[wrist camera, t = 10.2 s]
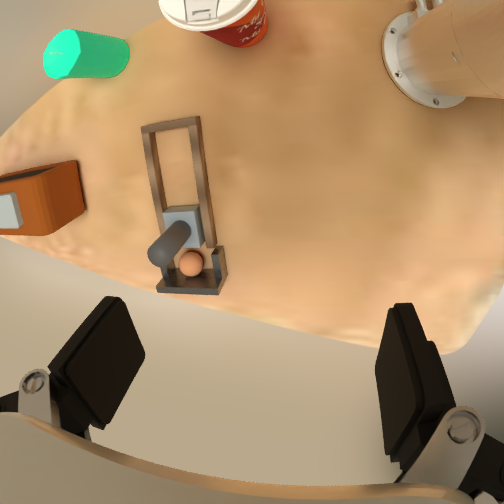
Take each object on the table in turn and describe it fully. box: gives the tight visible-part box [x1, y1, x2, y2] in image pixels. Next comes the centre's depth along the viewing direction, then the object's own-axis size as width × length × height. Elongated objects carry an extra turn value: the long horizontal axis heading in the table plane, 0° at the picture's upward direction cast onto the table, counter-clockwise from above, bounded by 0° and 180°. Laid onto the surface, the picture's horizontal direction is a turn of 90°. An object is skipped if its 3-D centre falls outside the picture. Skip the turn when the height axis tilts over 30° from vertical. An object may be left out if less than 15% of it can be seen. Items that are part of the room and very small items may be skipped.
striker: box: [147, 205, 205, 267], centre depth 36 cm, size 5×4×9 cm
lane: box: [141, 116, 217, 248], centre depth 37 cm, size 17×7×2 cm, turn 5°
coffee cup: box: [158, 0, 268, 47], centre depth 21 cm, size 8×8×15 cm
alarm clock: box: [0, 161, 85, 236], centre depth 37 cm, size 24×8×11 cm, turn 91°
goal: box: [156, 246, 228, 295], centre depth 41 cm, size 5×9×5 cm, turn 95°
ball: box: [179, 252, 203, 276], centre depth 41 cm, size 3×3×3 cm
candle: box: [43, 29, 129, 79], centre depth 25 cm, size 6×6×12 cm
